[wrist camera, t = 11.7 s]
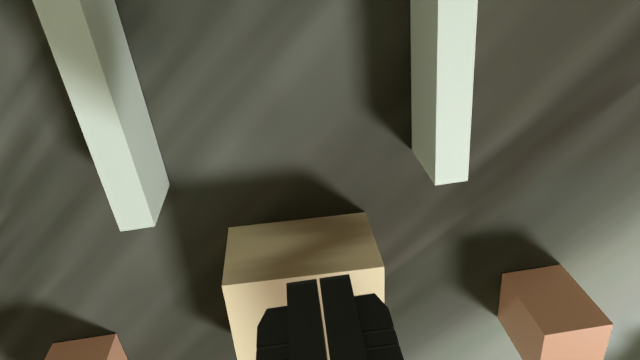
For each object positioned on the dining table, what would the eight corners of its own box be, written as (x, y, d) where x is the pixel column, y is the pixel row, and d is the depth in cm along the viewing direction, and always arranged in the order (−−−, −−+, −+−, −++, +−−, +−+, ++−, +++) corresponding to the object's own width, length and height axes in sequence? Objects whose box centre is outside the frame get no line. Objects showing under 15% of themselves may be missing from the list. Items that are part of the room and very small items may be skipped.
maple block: (364, 209, 21) (384, 266, 17) (366, 324, 24) (384, 391, 21) (229, 224, 21) (221, 286, 17) (250, 338, 24) (247, 409, 20)
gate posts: (561, 264, 23) (613, 324, 20) (552, 308, 25) (600, 371, 21) (52, 343, 22) (13, 421, 19) (74, 384, 24) (42, 464, 20)
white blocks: (448, -226, 14) (492, -262, 11) (440, 146, 20) (467, 180, 17) (15, -179, 13) (-46, -206, 11) (139, 189, 19) (120, 231, 16)
